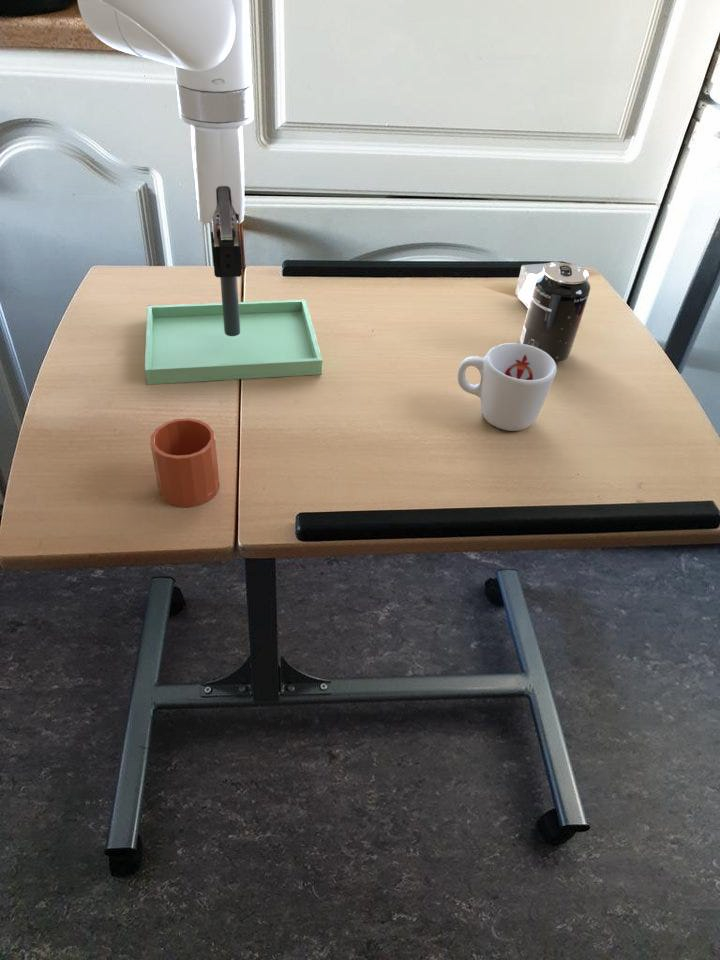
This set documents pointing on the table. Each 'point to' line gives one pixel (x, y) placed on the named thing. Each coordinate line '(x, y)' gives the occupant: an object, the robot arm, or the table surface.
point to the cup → (510, 383)
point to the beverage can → (556, 309)
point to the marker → (230, 305)
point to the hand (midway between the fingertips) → (227, 268)
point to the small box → (527, 281)
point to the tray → (230, 342)
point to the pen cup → (185, 462)
